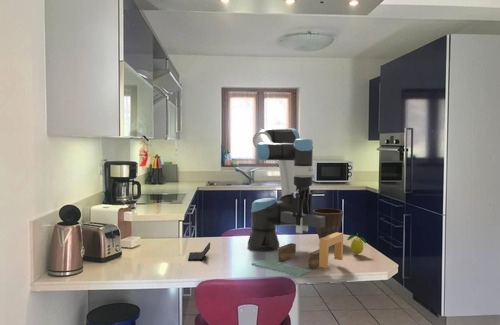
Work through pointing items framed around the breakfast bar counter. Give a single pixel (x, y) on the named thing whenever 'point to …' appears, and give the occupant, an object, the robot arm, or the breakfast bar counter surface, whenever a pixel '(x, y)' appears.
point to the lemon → (356, 244)
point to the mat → (281, 267)
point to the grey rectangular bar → (304, 219)
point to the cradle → (289, 253)
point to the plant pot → (329, 221)
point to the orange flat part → (327, 242)
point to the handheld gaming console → (198, 254)
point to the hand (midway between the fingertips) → (302, 231)
